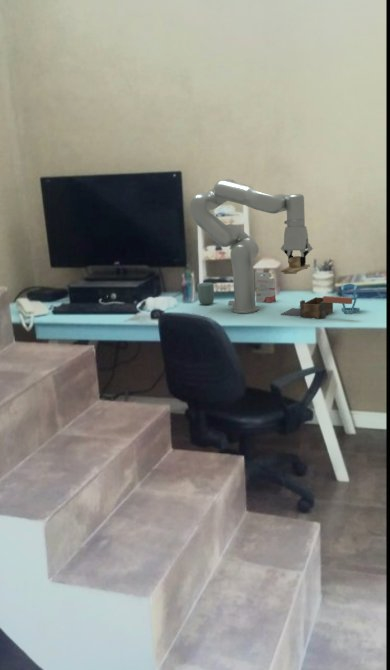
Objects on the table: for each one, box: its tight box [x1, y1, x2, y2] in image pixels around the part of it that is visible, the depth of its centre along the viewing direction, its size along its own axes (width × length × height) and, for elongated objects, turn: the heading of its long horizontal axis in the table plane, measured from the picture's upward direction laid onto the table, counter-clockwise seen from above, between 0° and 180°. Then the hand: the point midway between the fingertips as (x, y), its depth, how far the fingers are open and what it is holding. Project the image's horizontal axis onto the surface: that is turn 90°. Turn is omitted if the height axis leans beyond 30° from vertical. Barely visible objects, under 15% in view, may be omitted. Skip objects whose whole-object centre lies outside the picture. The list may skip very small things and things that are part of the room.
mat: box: [280, 307, 300, 317], centre depth 285 cm, size 10×12×1 cm
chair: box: [340, 283, 361, 315], centre depth 278 cm, size 8×8×12 cm
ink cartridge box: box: [254, 271, 277, 304], centre depth 310 cm, size 9×5×15 cm, turn 55°
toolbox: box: [299, 297, 334, 320], centre depth 277 cm, size 10×14×7 cm
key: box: [322, 295, 353, 305], centre depth 266 cm, size 12×2×2 cm, turn 56°
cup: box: [196, 282, 215, 306], centre depth 315 cm, size 8×8×10 cm
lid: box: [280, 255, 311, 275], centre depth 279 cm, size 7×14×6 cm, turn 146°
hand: (297, 264), depth 281 cm, fingers closed on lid, 4 cm apart
